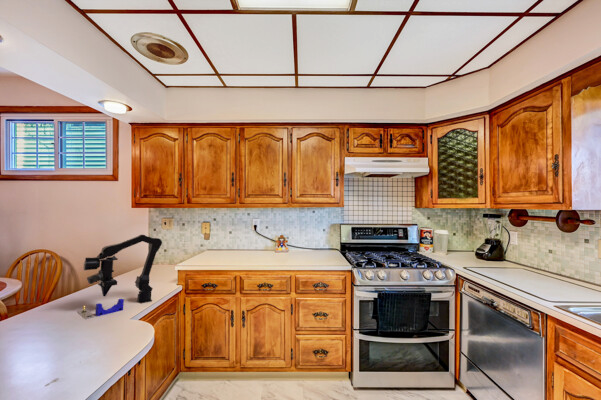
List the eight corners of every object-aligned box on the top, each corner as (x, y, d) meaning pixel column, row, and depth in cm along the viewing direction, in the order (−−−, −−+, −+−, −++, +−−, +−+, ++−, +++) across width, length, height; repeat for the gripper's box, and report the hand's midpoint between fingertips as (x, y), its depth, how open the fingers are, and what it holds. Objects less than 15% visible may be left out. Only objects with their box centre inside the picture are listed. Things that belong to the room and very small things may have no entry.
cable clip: (119, 309, 149) (120, 298, 150) (123, 310, 147) (123, 299, 147) (94, 315, 139) (95, 303, 140) (97, 316, 137) (98, 305, 137)
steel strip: (86, 310, 146) (87, 303, 146) (94, 316, 136) (95, 309, 136) (77, 311, 143) (77, 304, 143) (85, 319, 133) (85, 311, 133)
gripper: (84, 268, 150) (82, 295, 149) (94, 272, 138) (91, 302, 137) (107, 265, 159) (105, 292, 157) (118, 269, 147) (116, 298, 146)
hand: (104, 296), depth 149 cm, fingers closed
